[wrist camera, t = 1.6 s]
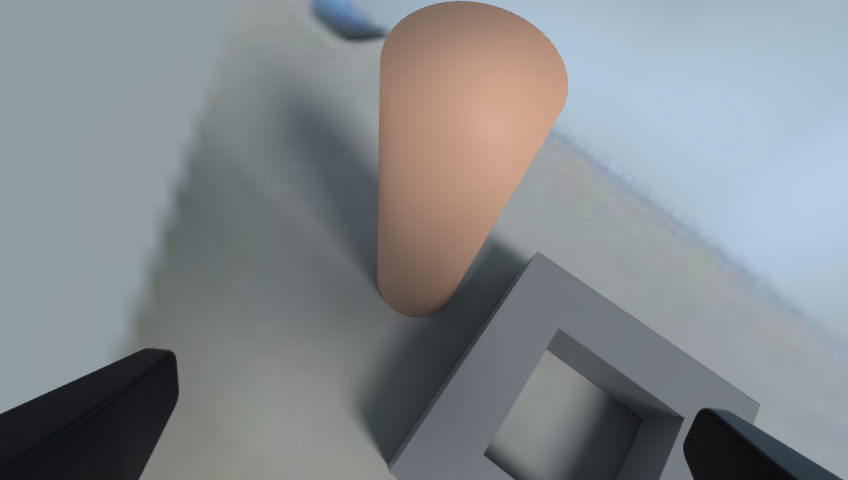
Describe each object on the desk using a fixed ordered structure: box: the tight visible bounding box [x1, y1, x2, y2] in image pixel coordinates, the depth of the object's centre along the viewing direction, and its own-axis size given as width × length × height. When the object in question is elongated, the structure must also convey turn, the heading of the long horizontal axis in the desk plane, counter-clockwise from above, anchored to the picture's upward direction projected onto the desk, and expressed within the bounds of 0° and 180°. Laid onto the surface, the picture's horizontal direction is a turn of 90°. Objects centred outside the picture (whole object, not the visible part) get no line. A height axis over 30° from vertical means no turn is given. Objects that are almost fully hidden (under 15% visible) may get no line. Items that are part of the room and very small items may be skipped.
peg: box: [377, 1, 568, 317], centre depth 16 cm, size 4×4×14 cm
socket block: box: [387, 252, 760, 480], centre depth 18 cm, size 11×11×3 cm
